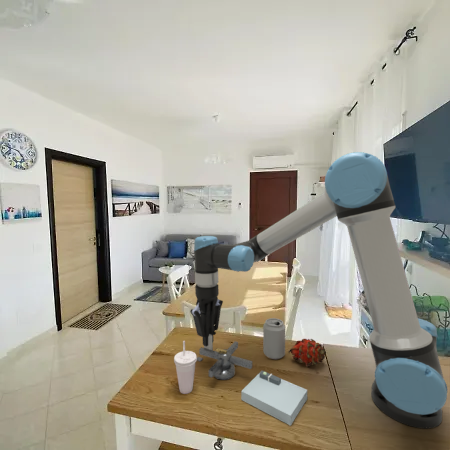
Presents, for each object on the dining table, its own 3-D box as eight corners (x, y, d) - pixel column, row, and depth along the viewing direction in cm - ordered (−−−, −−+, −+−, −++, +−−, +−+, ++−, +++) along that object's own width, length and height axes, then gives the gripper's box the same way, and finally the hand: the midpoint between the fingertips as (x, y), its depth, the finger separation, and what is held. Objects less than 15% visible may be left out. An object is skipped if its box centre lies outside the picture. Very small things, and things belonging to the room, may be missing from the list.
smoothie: (188, 378, 80) (187, 334, 79) (201, 389, 76) (201, 341, 75) (170, 389, 76) (169, 341, 75) (183, 400, 71) (182, 350, 70)
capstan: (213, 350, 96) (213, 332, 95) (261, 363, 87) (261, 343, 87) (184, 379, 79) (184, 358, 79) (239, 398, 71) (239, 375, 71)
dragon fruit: (329, 371, 86) (291, 372, 88) (323, 345, 92) (288, 346, 95) (329, 359, 81) (289, 360, 83) (323, 332, 87) (286, 334, 90)
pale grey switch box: (307, 398, 71) (307, 384, 71) (290, 425, 63) (290, 409, 62) (261, 378, 80) (261, 365, 80) (241, 399, 71) (241, 385, 71)
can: (285, 361, 88) (285, 327, 88) (262, 359, 90) (262, 325, 89) (284, 349, 96) (285, 317, 95) (263, 347, 97) (264, 316, 96)
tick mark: (203, 359, 90) (203, 358, 90) (199, 361, 89) (199, 360, 89) (198, 357, 91) (198, 356, 91) (195, 359, 90) (195, 358, 90)
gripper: (212, 277, 93) (213, 341, 95) (183, 286, 84) (186, 358, 85) (228, 281, 88) (229, 349, 90) (200, 291, 79) (202, 367, 80)
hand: (208, 353), depth 88 cm, fingers closed
